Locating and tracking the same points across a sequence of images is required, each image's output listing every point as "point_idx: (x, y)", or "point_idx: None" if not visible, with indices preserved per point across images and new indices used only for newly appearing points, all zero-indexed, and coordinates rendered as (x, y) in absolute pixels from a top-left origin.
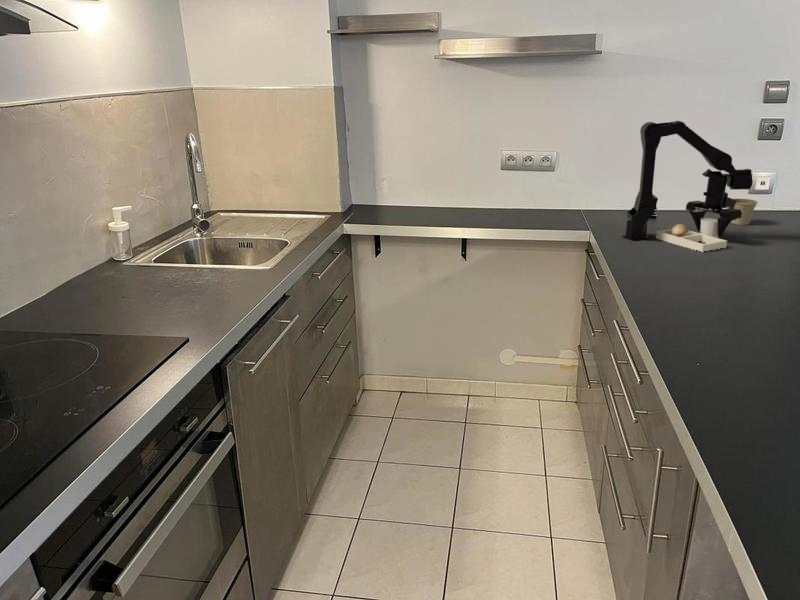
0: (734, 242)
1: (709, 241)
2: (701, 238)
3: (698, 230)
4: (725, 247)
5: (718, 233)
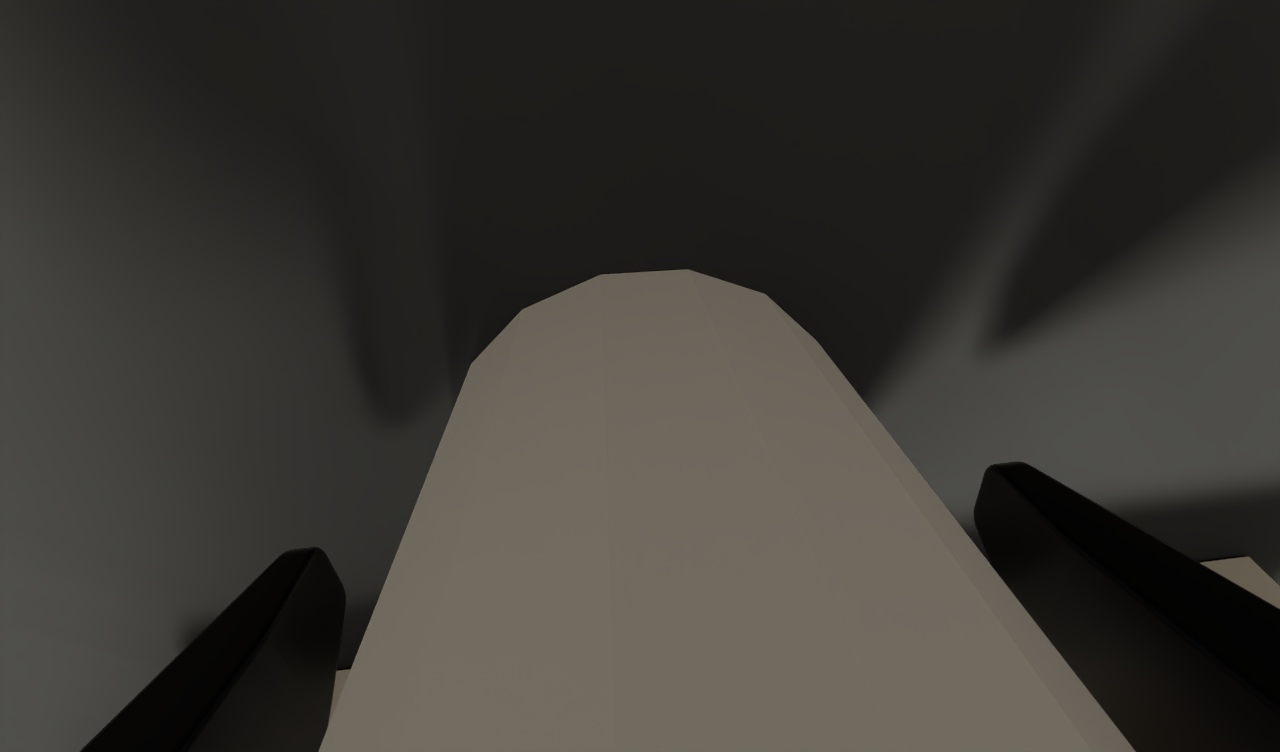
0: (1252, 155)
1: None
2: None
3: (339, 627)
4: (1250, 573)
5: (1041, 623)
